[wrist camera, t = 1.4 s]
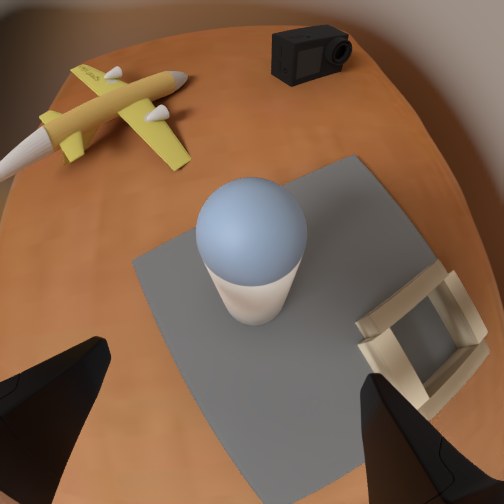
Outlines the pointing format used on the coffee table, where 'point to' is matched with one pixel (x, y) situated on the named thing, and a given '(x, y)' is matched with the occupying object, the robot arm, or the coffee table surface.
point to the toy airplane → (104, 120)
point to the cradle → (457, 323)
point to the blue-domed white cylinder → (252, 246)
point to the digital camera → (308, 53)
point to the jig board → (298, 334)
